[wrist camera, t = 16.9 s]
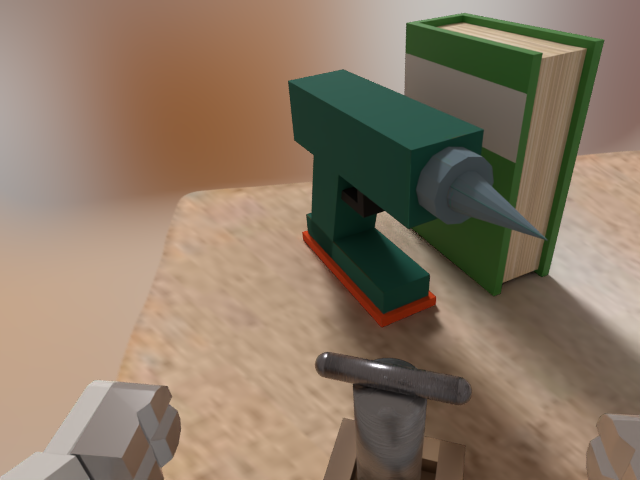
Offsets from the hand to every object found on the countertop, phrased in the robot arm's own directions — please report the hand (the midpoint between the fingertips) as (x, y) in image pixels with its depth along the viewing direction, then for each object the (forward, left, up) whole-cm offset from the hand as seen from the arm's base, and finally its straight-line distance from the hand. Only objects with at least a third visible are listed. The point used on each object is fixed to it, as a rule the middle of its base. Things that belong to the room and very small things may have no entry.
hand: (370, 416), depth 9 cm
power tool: (+5, -33, -26) cm, 42 cm away
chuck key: (+2, -12, -25) cm, 28 cm away
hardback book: (-1, -45, -26) cm, 52 cm away
